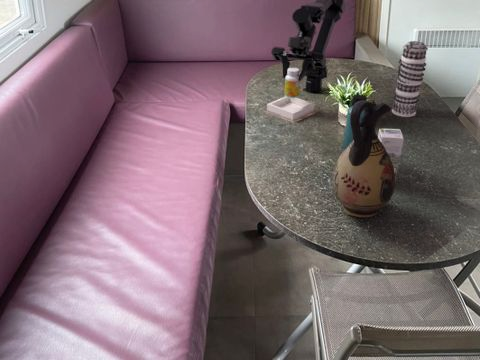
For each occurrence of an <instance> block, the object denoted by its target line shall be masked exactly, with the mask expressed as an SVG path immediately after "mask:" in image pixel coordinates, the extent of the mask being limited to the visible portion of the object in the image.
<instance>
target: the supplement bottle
mask: <svg viewBox="0 0 480 360" xmlns="http://www.w3.org/2000/svg"><path fill="white" fill-rule="evenodd" d="M299 76H300V69H299V68H298V67H289V68H288V70H287V75H286V76H285V79H284V97H287V98H299V97H300V96H301V83H302V82H301V81H302V80H301V81H299Z"/></svg>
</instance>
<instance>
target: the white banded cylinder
mask: <svg viewBox="0 0 480 360" xmlns="http://www.w3.org/2000/svg"><path fill="white" fill-rule="evenodd" d="M402 48H403V50H402V55H401V58H400V59H399V60H398V64H399V65H398V66H397V68H398V69H397V77H396V82H397V84H396V85H397V86H396V88H395V92H394V93H393V94H394V96H393V101H392V105H391V107H392V109H391V112H392V114H394V115H395V116H398V117H402V118H403V117H404V118H409V117H414V116H416V115H417V110H418V108H417V107H418V106H419V104H418V103H419V101H420V100H419V98H420V87H421V84H423V80H424V78H423V77H424V76H425V74H424V71H426V66H427V63H426V59H427V57H426V55H427V51H428V50H429V48H428V47H426V43H424V42H422V41H415V40H414V41H408V42H407V43H406V44H404V45H403V46H402Z"/></svg>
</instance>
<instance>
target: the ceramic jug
mask: <svg viewBox="0 0 480 360" xmlns="http://www.w3.org/2000/svg"><path fill="white" fill-rule="evenodd" d="M353 105H354V106H353ZM353 105H352V106H353V107H352V111H351V116H350V124H351V129H352V133H353V141H352V142H351V143H350V145H349V146H348V147H347V148H346V149H345V150H344V152H343V151H342V153H341V154H340V156H339V157H338V159H337V161H336V163H335V165H334V167H333V170H332V171H333V172H332V175H331V176H332V177H331V186H332V190H333V193H334V196H335V197H336V199H337V201H339V203H340V204H341V205H342V208H343V210H344V212H345V214H347V215H349V216H352V217H357V218H372V217H375V216H376V215H378V214H380V212H381V210H380V209H382V208H383V207H384V206H386V204H387V203H388V202H389V201H390V200H391V198H392V197H393V195H394V192H395V189H396V181H395V172H394V167H393V164H392V161H391V159H390V157H389V155H388V153H387V151H386V149H385V147H384V146H383V144H382V143H381V141H380V140H379V138H378V135H377V132H376V126H377V122H378V120H380V118H381V117H382V116H384V115H385V114H387V113H389V112H391V111H392V109H391V106H389V105H387V104H386V103H384V102H381V103H378V104H377V103H376V102H375V100H374V99H371V100H370V101H369V100H368V99H367V100H361V101H358V102H356V103H355V104H353ZM362 111H364V115H363V116H362V119H361V121H360V115H361V112H362ZM360 127H362V129H361V128H360Z"/></svg>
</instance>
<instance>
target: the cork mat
mask: <svg viewBox="0 0 480 360" xmlns="http://www.w3.org/2000/svg"><path fill="white" fill-rule="evenodd" d="M263 112H264V113H267V114H269V115H271V116H274V117H277V118H280V119H283V120H285V121H288V122H290V123H293V124H296V123H297V122H299V121H301V120H304V119H306V118H308V117H309V116H312V115H314V114H316V113H318V112H319V110H316V109H314V112H312V113H310V114H308V115H306V116H304V117H302V118H299V119H297V120H295V121H293V122H292V121H290V120H287V119H284V118H282V117H279V116H276V115H274V114H271V113H268V112H267V109H266V110H264V111H263Z"/></svg>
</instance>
